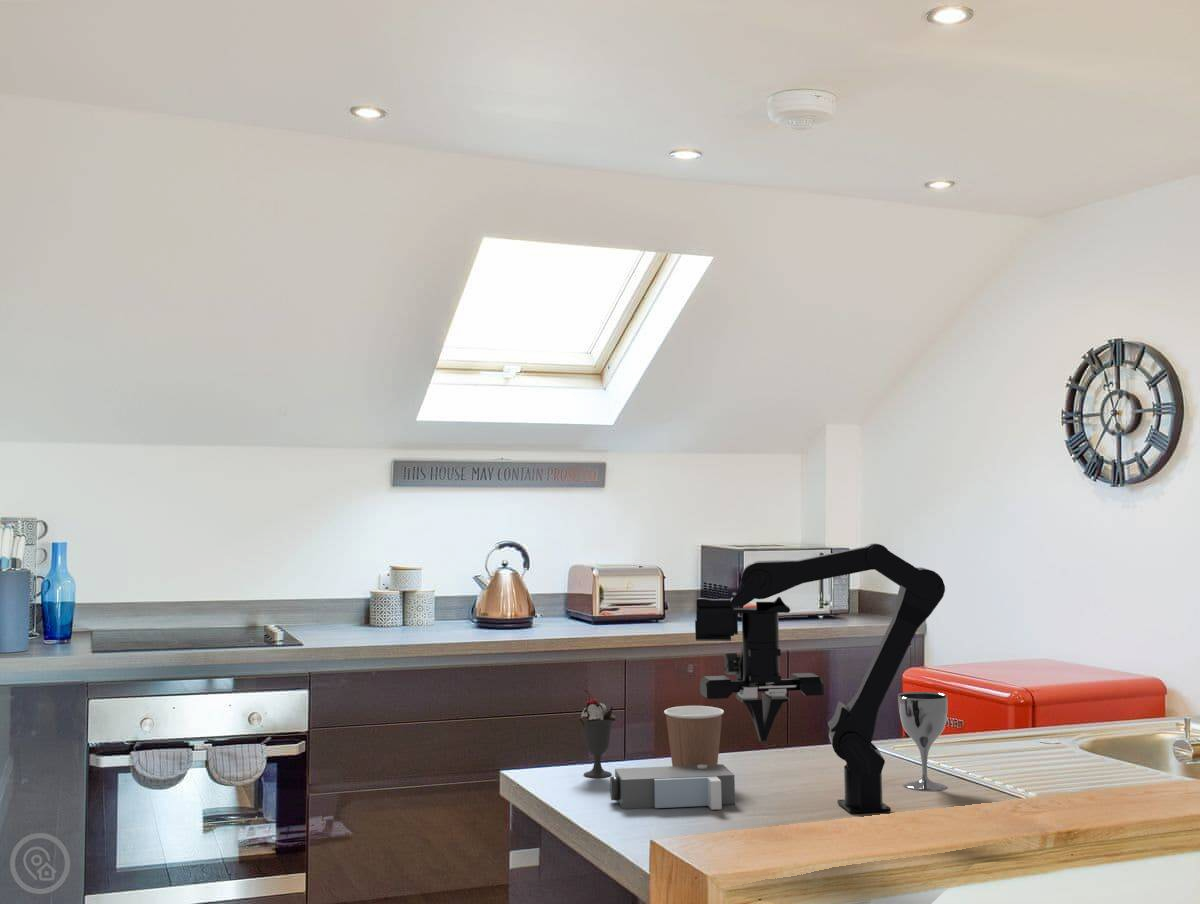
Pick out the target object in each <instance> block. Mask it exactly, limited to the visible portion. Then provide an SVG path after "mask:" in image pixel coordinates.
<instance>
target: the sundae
mask: <svg viewBox="0 0 1200 904" xmlns="http://www.w3.org/2000/svg"><path fill="white" fill-rule="evenodd" d="M583 691H584V692H585V693H586V694H587V695H588V701H587V700H586V702H585V706H586V707H585V708H584V709H582V712H581V714H580V717H578V720H579V721H580V722H581V724H582V729H583V738H584V743H585V747H586V749H587V750H588V752H590V753H591V754H592V755H593V767H592V769H591V770H589V771H586V772H584V773H583V776H584V777H585V778H590V779H603V778H609V777H612V773H611V772H610V771H608V770H607V771H606V770H605V769H603V767H602V762H601V760H602V759H601V758H602V755H603V754H604V753H605V752H607V750H608V748H609V745H610V739H611V729H612V723H613V722H614V721H616V715H614V714H612V712H613V710H614V707H613V706H611V707H609V709H607V705H605V704H604V703H603V702H601V701H599V700H597V699H596V698H594V697H593V695H592V694H591V692H590V691H589V690H588V688H587V689H584V690H583ZM591 698H592V699H591Z"/></svg>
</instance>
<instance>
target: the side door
mask: <svg viewBox="0 0 1200 904" xmlns="http://www.w3.org/2000/svg"><path fill="white" fill-rule="evenodd" d="M722 805H723V804H721V780H720V779H719V778H718V777H717V776H714V777H690V778H667V779H654V808H655V809H663V808H664V809H665V808H666V809H667V808H668V809H669V808H686V807H688V808H690V807H706V806H707V807H709V809H710V810H722V807H723V806H722Z"/></svg>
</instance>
